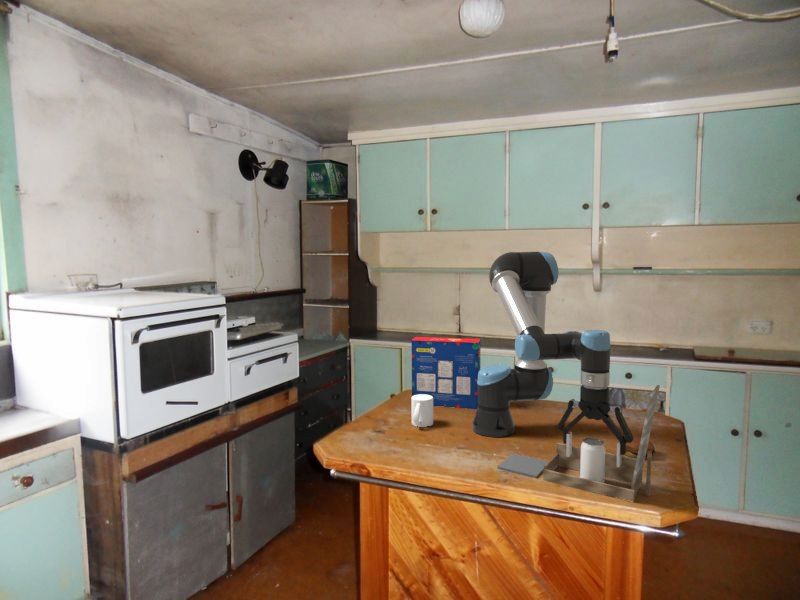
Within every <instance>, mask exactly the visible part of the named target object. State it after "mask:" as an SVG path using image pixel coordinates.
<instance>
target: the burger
mask: <svg viewBox="0 0 800 600" xmlns="http://www.w3.org/2000/svg"><path fill="white" fill-rule="evenodd" d="M633 438H634V439H633V441H632V442H631V443H626V453H625V454H624V455H623V456H625V457H630V458H634V459H637V456H638V451H639V446H640V441H641V437H639V438H638V437H633ZM655 449H656V448H655V445H654V444H653V442H652V441H651V440H649V441H648V446H647V451H646V456H645V459H647V453H648V451H652V457H653V456H654V454H656V450H655Z"/></svg>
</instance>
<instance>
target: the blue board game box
mask: <svg viewBox="0 0 800 600" xmlns="http://www.w3.org/2000/svg"><path fill="white" fill-rule="evenodd" d="M481 343H482V341H481V339H480V338H454V337H429V336H428V337H426V336H424V337H423V336H422V337H421V336H415V337H413V338H412V339H411V397H412V396H414V395H418V394H427V395H431V396H433V407H435V406H444V407H443V408H450V407H455V408H454V409H465V408H467V409H469V410H477V408H478V384H477V380H478V372H479V371H480V369H481ZM467 409H466V410H467Z"/></svg>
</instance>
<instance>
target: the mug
mask: <svg viewBox="0 0 800 600" xmlns="http://www.w3.org/2000/svg"><path fill="white" fill-rule="evenodd" d="M410 411H411V426H414V427H417V426H418V427H419V428H427V426H429V427H431V426H433V425H434V406H433V396H431V395H427V394H418V395H414V396H412V395H411V409H410Z"/></svg>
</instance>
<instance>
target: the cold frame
mask: <svg viewBox="0 0 800 600" xmlns="http://www.w3.org/2000/svg"><path fill="white" fill-rule="evenodd" d="M660 386H661V385H659V384H657V385H656V386H655V387H654V389H653V390H652V392H651V393H650V394H649V396H648V402H647V407H646V411H645V417H644V422H643V426H642V432H641V437H640V439H641V441H640V446H639V451H638V456H637V458H631V457H628V456H626V455H622V464H621V466H620V467H616V463H617V454H614V453H609V452H605V478H609V479H613V480H617V481H622V482H626V483H630V484H631V485H630V486H631V487H630V488H625V487H623V486H622V487H621V486H617V485H613V484H611V483H610V484H609V483H605V482H604V483H601V482H597V481H593V480H589V479H584V478H580V476H575V475H572V474H566V473H563V472H558V471H556V470H557V468H558V467H561V468H565V469H568V470H569V469H570V470H575V471H578V472H580V459H581V446H575V445H572V454H571V455H570V456H569V457H567V456H566V444H564V443H560V442H557V443H556V453H554V455H553V456H551V458H550V459H549V460H547V461H548V462H547V463H546V464H545V465H544V470H543V472H542V481H546V482H550V483H554V482H555V483H554V484H558V483H559V484H558V485H562V484H563V485H562V486H566V485H567V486H566V487H570V486H571V487H570V488H574V487H575V489H578V488H579V489H578V490H582V489H583V490H582V491H586V490H587V492H590V493H594V492H595V494H598V493H600V494H599V495H602V494H604V495H603V496H606V495H608V496H607V497H610V496H613V497H612V498H614V497H617V498H616V499H618V498H621V499H620V500H622V499H625V500H624V501H626V500H630V501H634V502H635V500H636V498H635V497H637V496H638V494H639V492H640V490H639V489H641V487H642V485H643V474H644V473H643V470H644V469H643V468H644V465H645V460H646V483H645V497H647V496H649V497H650V496H651V485H652V484H651V483H652V481H651V480H652V479H651V477H652V459H653V456H652V451H648V453H647V458H645V456H646V451H647V446H648V441H650V436H651V430H652V428H653V427H652V426H653V421H654V416H655V412H656V408H657V407H656V406H657V402H658V397H659V391H660V388H661V387H660ZM638 491H639V492H638ZM637 493H638V494H637ZM636 495H637V496H636ZM634 499H635V500H634ZM630 501H629V502H630Z"/></svg>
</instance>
